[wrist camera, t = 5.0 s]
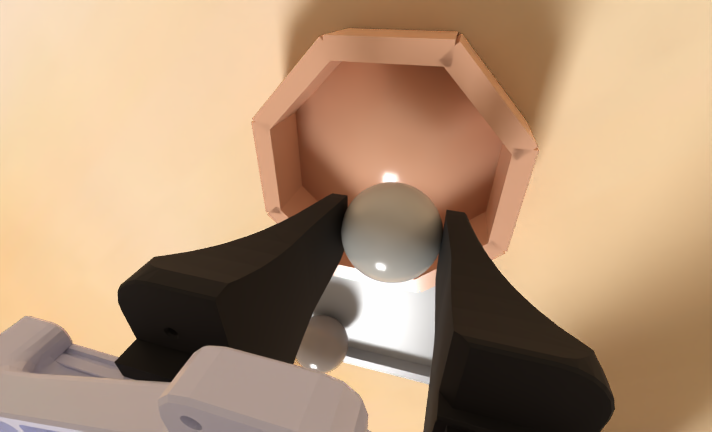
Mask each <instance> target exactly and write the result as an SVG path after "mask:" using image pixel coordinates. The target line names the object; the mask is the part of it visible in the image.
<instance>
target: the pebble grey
mask: <svg viewBox="0 0 712 432" xmlns="http://www.w3.org/2000/svg"><path fill="white" fill-rule="evenodd" d="M442 237H443V224H442V220H441V217H440V214H439V212H438V210H437V208H436V206H435V205H434V203H433V202H432V200H431V199H430V198H429V197H428V196H427V195H426V194H424V193H423V192H422V191H420V190H419V189H417V188H415V187H413V186H411V185H408V184H405V183H400V182H384V183H379V184H376V185H373V186H371V187H369V188H366V189H365V190H363V191H362V192H361V193H359V194H358V195H357V196H356V197H355V198H354V199H353V200H352V202H351V203H350V204H349V206H348V208H347V210H346V212H345V214H344V217H343V221H342V226H341V238H342V244H343V248H344V251H345V253H346V255H347V257H348V259H349V260H350V262H351V263H352V265H353V266H354V267H355V268H356V269H357V270H358V271H360V272H361V273H362V274H363V275H365V276H367V277H368V278H370V279H373V280H375V281H378V282H382V283H402V282H406V281H410V280H412V279H414V278H416V277H418V276H420V275H421V274H423V273H424V272H425V271H426V270H428V268H429V267H430V266H431V265H432V264H433V263H434V261H435V260H436V258H437V256H438V254H439V252H440V249H441V243H442Z"/></svg>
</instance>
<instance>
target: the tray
mask: <svg viewBox="0 0 712 432" xmlns="http://www.w3.org/2000/svg"><path fill="white" fill-rule="evenodd" d="M316 315H328V316H331V317H333V318H335V319H337V320H338V321H339V322H340V323H341V324H342V325H343V326H344V328H345V330H346V332H347V335H348V341H349V345H348V351H347V354H346V357H345V359H344V360H343V362H344V363H348V364H352V365H356V366H360V367H363V368H367V369H371V370H375V371H379V372H383V373H387V374H391V375H395V376H398V377H402V378H406V379H410V380H414V381H418V382H422V383H426V384H429V382H430V374H431V365H432V357H433V348H434V336H435V286H434V287H432V288H430V289H428V290H426V291H423V292H420V291H419V292H413V291H408V290H403V289H398V288H393V287H388V286H382V285H377V284H372V283H367V282H362V281H357V280H352V279H347V278H342V277H337V276H332V278H331V280H330V281H329V283H328V285H327V287H326V289H325V291H324V293H323V295H322V296H321V298H320V300H319V302H318V304H317V306H316V308H315V310H314V312H313V314H312V317H313V316H316Z"/></svg>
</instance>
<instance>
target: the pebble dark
mask: <svg viewBox="0 0 712 432" xmlns="http://www.w3.org/2000/svg"><path fill="white" fill-rule="evenodd" d="M348 345H349V341H348V335H347V332H346V330H345V328H344V326H343V325H342V324H341V323H340V322H339V321H338V320H337V319H335V318H333V317H331V316H328V315H316V316H313V317H311V319H310V322H309V324H308V327H307V329H306V332H305V334H304V337H303V339H302V342H301V345H300V347H299V350H298V353H297V355H296V359H297V361H298V362H299V364H300V365H301V366H302V367H304V368H307V369H311V370H315V371H319V372H322V373H328V372H330V371H332V370H334V369H336V368H337V367H338V366H339V365H340V364H341V363H342V362H343V360H344V359H345V357H346V354H347V351H348Z"/></svg>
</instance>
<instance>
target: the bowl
mask: <svg viewBox="0 0 712 432" xmlns="http://www.w3.org/2000/svg"><path fill="white" fill-rule="evenodd" d="M457 36H458V31H429V30H396V29H362V28H346V29H343V30H339V31H335V32H331V33H328V34H324V35H322V36H319V37H318V38H317V39H316V41H315V42H314V43H313V44H312V46H311V47H310V48H309V49H308V50H307V52H306V53H305V54H304V55H303V57H302V58H301V59H300V60H299V62H298V63H297V64H296V65H295V66H294V68H293V69H292V70H291V71H290V73H289V74H288V75H287V76H286V78H285V79H284V80H283V81H282V82H281V84H280V85H279V86H278V87H277V89H276V90H275V91H274V92H273V94H272V95H271V96H270V97H269V98H268V100H267V101H266V102H265V103H264V105H263V106H262V107H261V108H260V110H259V111H258V112H257V113H256V115H255V116H254V117H253V118H252V119H253V120H254V121H252V122H251V123H252V129H253V135H254V141H255V147H256V153H257V160H258V166H259V172H260V178H261V184H262V190H263V197H264V203H265V209H266V212H269V213H268V214H267V215H268V216H269V217H271V218H272V219H273V220H274V221H275V222H276V223H277V224H278V223H280V222H282V221H284V220H286V219H288V218H290V217H291V216H293V215H295V214H297V213H299V212H301V211H302V210H304V209H306V208H308V207H309V206H311V205H313V204H314V203H316V202H318V201H319V200H321V199H323V198H324V197H326V196H328V195H330V194H332V193H334V194H341V195H348V206H349V204H350V203H351V202H352V200H353V199H354V198H355V197H356V196H357V195H358V194H359V193H361V192H362V191H363V190H365V189H366V188H369V187H371V186H373V185H376V184H379V183H384V182H400V183H405V184H408V185H411V186H413V187H415V188H417V189H419V190H420V191H422V192H423V193H424V194H426V195H427V196H428V197H429V198H430V199H431V200H432V202H433V203H434V205H435V206H436V208H437V210H438V212H439V214H440V217H441V220H442V224H443V227H444V222H445V216H446V210H452V211H459V212H465V214H466V215H467V217H468V219H469V222H470V224H471V226H472V228H473V230H474V232H475V234H476V236H477V238H478V240H479V241H480V243H481V245H482V246H483V248H484V250H485V251H486V253H487V254H488V256H489V257H490V259H491V260H492V259H495V258H497V257H499V256H501V255H503V254H505V251H507V250H508V247H509V244H510V240H511V237H512V234H513V231H514V228H515V225H516V221H517V218H518V215H519V212H520V209H521V206H522V202H523V199H524V196H525V193H526V190H527V186H528V183H529V180H530V177H531V174H532V171H533V167H534V164H535V161H536V158H537V155H538V152H539V150H538V148H537V147H538V145H537V143H536V141H535V139H534V136H533V134H532V132H531V130H530V128H529V125H528V123H527V121H526V120H525V118H524V117H523V116H522V114H521V113H520V111H519V110H518V109H517V107H516V106H515V105H514V103H513V102H512V101H511V99H510V98H509V97H508V95H507V94H506V93H505V91H504V90H503V88H502V87H501V86H500V84H499V83H498V82H497V80H496V79H495V78H494V76H493V75H492V74H491V72H490V71H489V69H488V68H487V67H486V65H485V64H484V63H483V61H482V60H481V59H480V57H479V56H478V55H477V53H476V52H475V50H474V49H473V48H472V46H471V45H470V44H469V42H468V41H467V40H466V38H465V37H464V36H463V34H462V33H461V34H460V35H459V36H458V37H457ZM438 256H439V254H438ZM438 256H437V258H436V260H435V261H434V263H433V264H432V265H431V266H430V267H429V268H428V270H426V271H425V272H424V273H423V274H421V275H420V276H418V277H416V278H414V279H412V280H410V281H406V282H402V283H382V282H378V281H375V280H373V279H370V278H368V277H367V276H365V275H363V274H362V273H361V272H360V271H358V270H357V269H356V268H355V267H354V266H353V265H352V263H351V262H350V260H349V259H348V257H347V255H346V253H345V251H344V252H343V255H342V258H341V260H340V262H339V264H338V266H337V268H336V270H335V272H334V274H333V276H337V277H342V278H347V279H352V280H357V281H362V282H367V283H372V284H377V285H382V286H388V287H393V288H398V289H403V290H408V291H413V292H419V291H420V292H423V291H426V290H428V289H430V288H432V287H434V286H435V278H436V270H437V263H438Z"/></svg>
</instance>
